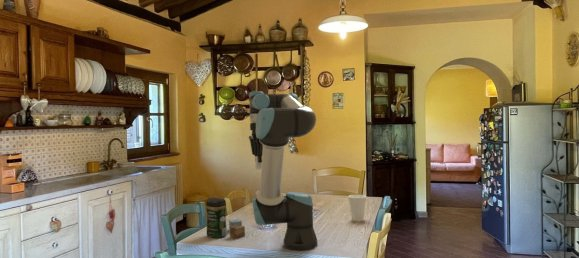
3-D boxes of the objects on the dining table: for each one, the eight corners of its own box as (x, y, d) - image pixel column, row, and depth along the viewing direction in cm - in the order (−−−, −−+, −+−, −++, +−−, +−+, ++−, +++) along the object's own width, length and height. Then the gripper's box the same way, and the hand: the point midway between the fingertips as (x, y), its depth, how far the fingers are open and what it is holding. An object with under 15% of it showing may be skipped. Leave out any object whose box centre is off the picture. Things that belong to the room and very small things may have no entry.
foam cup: (369, 219, 219) (369, 195, 218) (360, 222, 212) (359, 198, 212) (355, 216, 225) (354, 194, 225) (345, 220, 218) (345, 196, 218)
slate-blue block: (241, 230, 203) (241, 221, 203) (232, 232, 200) (232, 222, 200) (238, 228, 207) (238, 219, 207) (229, 229, 205) (229, 220, 205)
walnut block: (244, 236, 192) (244, 226, 192) (237, 239, 188) (237, 228, 188) (237, 234, 195) (237, 224, 195) (230, 237, 192) (229, 227, 191)
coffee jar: (203, 236, 194) (202, 198, 193) (215, 232, 200) (214, 195, 200) (218, 239, 188) (217, 200, 188) (229, 235, 195) (228, 197, 194)
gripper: (244, 122, 203) (245, 168, 204) (258, 122, 193) (260, 170, 194) (256, 122, 208) (257, 167, 208) (271, 121, 198) (272, 169, 198)
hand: (258, 169), depth 201 cm, fingers closed
